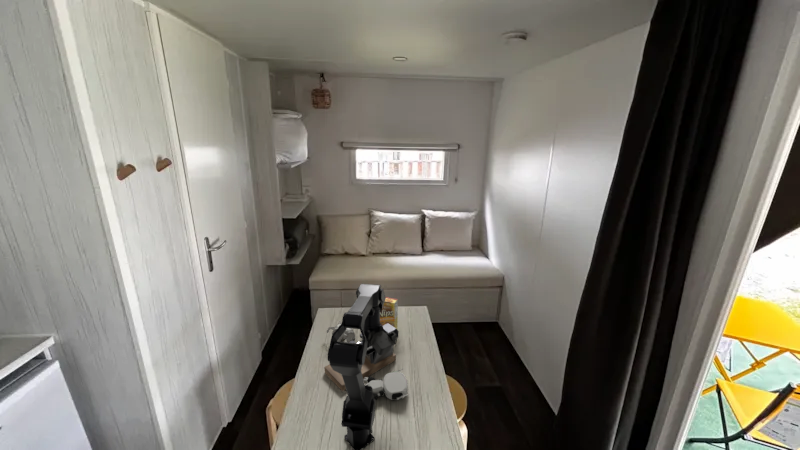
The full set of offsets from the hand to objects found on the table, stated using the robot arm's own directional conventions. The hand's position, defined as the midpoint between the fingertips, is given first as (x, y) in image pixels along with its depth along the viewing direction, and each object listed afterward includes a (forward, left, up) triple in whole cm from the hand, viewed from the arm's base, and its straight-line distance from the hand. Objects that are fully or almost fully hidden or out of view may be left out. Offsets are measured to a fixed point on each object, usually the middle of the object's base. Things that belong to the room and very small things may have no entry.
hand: (371, 362), depth 110 cm
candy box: (+27, +25, -13) cm, 39 cm away
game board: (+5, +13, -12) cm, 19 cm away
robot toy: (+4, -2, -13) cm, 14 cm away
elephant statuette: (+7, +31, -13) cm, 34 cm away
